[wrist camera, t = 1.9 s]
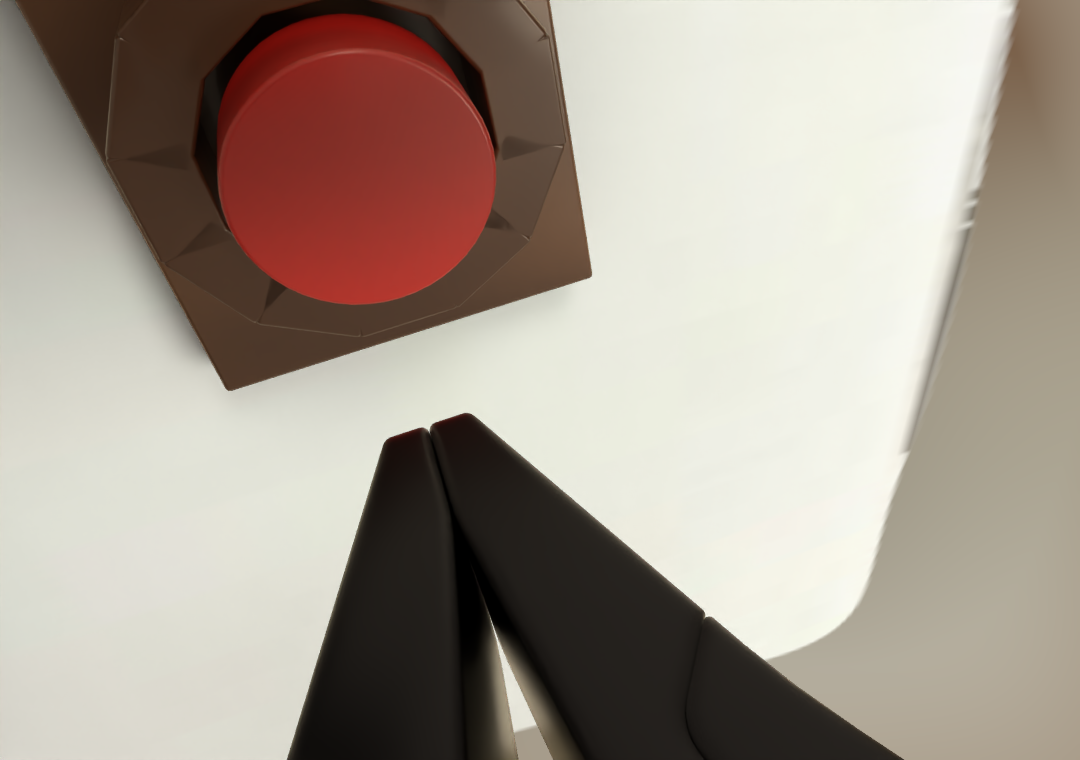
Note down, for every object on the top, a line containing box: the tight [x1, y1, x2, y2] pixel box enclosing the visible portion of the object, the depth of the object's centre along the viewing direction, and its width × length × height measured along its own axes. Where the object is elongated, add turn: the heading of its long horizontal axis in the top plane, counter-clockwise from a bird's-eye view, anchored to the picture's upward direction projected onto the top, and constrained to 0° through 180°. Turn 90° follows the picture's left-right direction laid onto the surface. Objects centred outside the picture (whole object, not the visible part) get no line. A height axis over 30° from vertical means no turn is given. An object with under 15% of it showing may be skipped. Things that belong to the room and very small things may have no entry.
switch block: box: [15, 0, 592, 391], centre depth 15 cm, size 10×8×3 cm
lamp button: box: [217, 14, 496, 305], centre depth 13 cm, size 4×4×2 cm
